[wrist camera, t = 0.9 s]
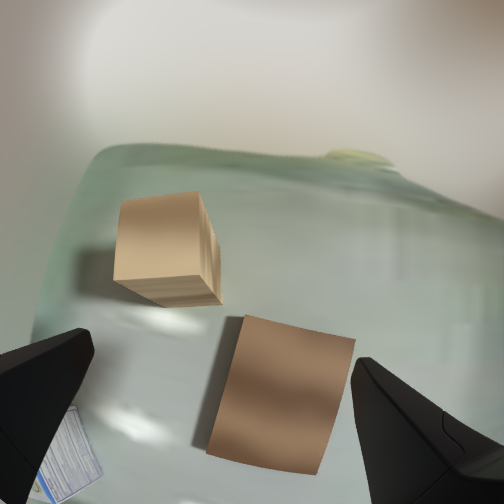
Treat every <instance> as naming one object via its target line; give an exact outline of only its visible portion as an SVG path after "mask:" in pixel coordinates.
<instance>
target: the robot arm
mask: <svg viewBox="0 0 504 504" xmlns="http://www.w3.org/2000/svg"><path fill="white" fill-rule="evenodd" d="M93 356H94V346H93V342H92V338H91V334H90V332H89V331H88V330H87V329H83V328H76V329H74V330H71V331H68V332H65V333H62V334H59V335H56V336H53V337H50V338H48V339H45V340H42V341H39V342H36V343H33V344H30V345H27V346H24V347H21V348H19V349H15V350H12V351H9V352H6V353H4V354H2V355H1V354H0V499H1V500H2V501H4V502H5V503H6V504H26V502H27V499H28V496H29V494H30V491H31V489H32V486H33V484H34V481H35V479H36V476H37V474H38V473H37V472H38V471H39V469H40V466H41V464H42V462H43V460H44V457H45V455H46V453H47V451H48V449H49V447H50V444H51V442H52V440H53V438H54V436H55V434H56V432H57V430H58V428H59V426H60V424H61V422H62V420H63V418H64V416H65V414H66V412H67V410H68V408H69V407H70V405H71V403H72V401H73V399H74V397H75V395H76V394H77V392H78V390H79V388H80V386H81V384H82V381H83V379H84V377H85V374H86V372H87V370H88V367H89V365H90V363H91V361H92V358H93ZM351 391H352V399H353V408H354V417H355V424H356V429H357V433H358V437H359V442H360V446H361V451H362V456H363V460H364V465H365V470H366V475H367V480H368V486H369V491H370V497H371V502H372V504H504V446H503V445H501V444H499V443H497V442H495V441H493V440H491V439H490V438H488V437H486V436H484V435H482V434H480V433H479V432H477V431H475V430H473V429H472V428H470V427H468V426H466V425H465V424H463V423H462V422H460V421H459V420H457V419H456V418H454V417H453V416H451V415H450V414H448V413H447V412H446V411H443V409H441V408H440V407H438V406H437V405H436V404H434V403H433V402H431V401H430V400H429V399H427V398H426V397H424V396H423V395H422V394H420V393H419V392H417V391H416V390H415V389H413V388H412V387H410V386H409V385H408V384H406V383H405V382H404V381H402V380H401V379H399V378H398V377H397V376H395V375H394V374H392V373H391V372H390V371H388V370H387V369H386V368H384V367H383V366H381V365H380V364H379V363H377V362H376V361H375V360H373V359H372V358H370V357H360V358H358V359H357V360H356V363H355V366H354V370H353V373H352V376H351Z"/></svg>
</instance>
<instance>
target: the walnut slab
mask: <svg viewBox="0 0 504 504" xmlns="http://www.w3.org/2000/svg"><path fill="white" fill-rule="evenodd" d="M355 340H356V339H351V338H346V337H341V336H336V335H331V334H326V333H321V332H317V331H312V330H307V329H303V328H298V327H294V326H290V325H285V324H281V323H277V322H273V321H269V320H265V319H261V318H257V317H253V316H249V315H245V316H244V320H243V324H242V327H241V331H240V334H239V338H238V342H237V345H236V349H235V352H234V356H233V360H232V363H231V367H230V370H229V374H228V378H227V381H226V385H225V388H224V392H223V395H222V399H221V402H220V406H219V409H218V413H217V417H216V420H215V424H214V427H213V431H212V434H211V437H210V441H209V444H208V448H207V451H206V454H209V455H213V456H216V457H220V458H223V459H227V460H231V461H235V462H239V463H243V464H248V465H252V466H257V467H262V468H268V469H273V470H279V471H286V472H293V473H301V474H309V475H316V473H317V471H318V468H319V466H320V463H321V460H322V458H323V455H324V452H325V449H326V446H327V444H328V441H329V438H330V435H331V432H332V428H333V425H334V422H335V419H336V416H337V412H338V409H339V405H340V402H341V398H342V395H343V391H344V387H345V383H346V380H347V376H348V372H349V367H350V363H351V359H352V354H353V350H354V345H355Z"/></svg>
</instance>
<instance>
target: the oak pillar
mask: <svg viewBox="0 0 504 504" xmlns="http://www.w3.org/2000/svg"><path fill="white" fill-rule="evenodd" d="M113 280H114V281H115V282H117V283H119V284H121V285H123V286H124V287H126V288H128V289H130V290H132V291H134V292H136V293H137V294H139V295H141V296H143V297H145V298H147V299H149V300H151V301H153V302H155V303H157V304H159V305H161V306H163V307H165V308H174V307H194V306H211V305H223V301H222V283H221V263H220V248H219V245H218V242H217V239H216V237H215V234H214V231H213V229H212V226H211V223H210V220H209V218H208V215H207V212H206V209H205V207H204V204H203V201H202V198H201V195H200V193H199V191H193V192H184V193H176V194H169V195H161V196H154V197H147V198H140V199H134V200H127V201H122V202H121V208H120V215H119V223H118V231H117V240H116V251H115V263H114V277H113Z"/></svg>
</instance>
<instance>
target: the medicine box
mask: <svg viewBox="0 0 504 504" xmlns="http://www.w3.org/2000/svg"><path fill="white" fill-rule="evenodd" d="M37 473H38V474H37V476H36V479H35V481H34V484H33V486H32V489H31V491H30V494H29V496H28V498H32V499H36V500H39V501H43V502H47V503H51V504H61V503H63V502H64V501H66V500H67V499H69V498H71V497H72V496H74V495H76V494H77V493H79V492H81V491H82V490H84V489H85V488H87V487H88V486H90V485H91V484H93V483H94V482H96V481H98V480H99V479H101V478H102V477H104V474H103V472H102V470H101V468H100V466H99V463H98V461H97V459H96V457H95V455H94V452H93V450H92V448H91V445H90V443H89V441H88V438H87V436H86V433H85V431H84V428H83V425H82V422H81V420H80V417H79V414H78V411H77V407H76V406H70V407H69V408H68V410H67V412H66V414H65V416H64V418H63V420H62V422H61V424H60V426H59V428H58V430H57V432H56V434H55V436H54V438H53V440H52V442H51V444H50V447H49V449H48V451H47V453H46V455H45V457H44V460H43V462H42V464H41V466H40V469H39V471H38V472H37Z"/></svg>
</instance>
